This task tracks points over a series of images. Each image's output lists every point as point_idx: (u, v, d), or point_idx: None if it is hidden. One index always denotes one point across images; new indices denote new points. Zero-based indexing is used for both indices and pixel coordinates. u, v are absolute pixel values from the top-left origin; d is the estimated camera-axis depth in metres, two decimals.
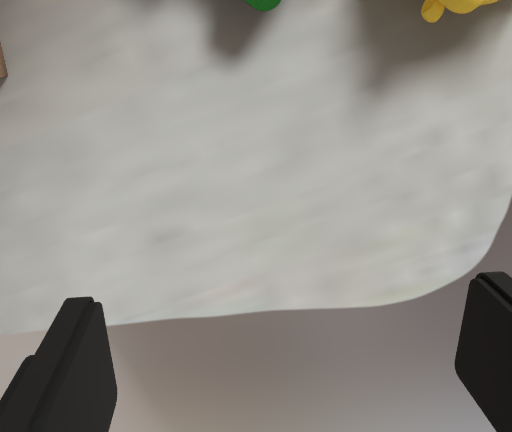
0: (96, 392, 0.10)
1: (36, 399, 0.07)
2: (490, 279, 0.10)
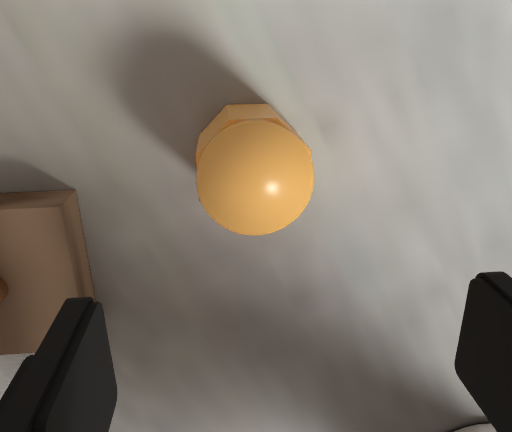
0: (96, 392, 0.10)
1: (36, 399, 0.07)
2: (490, 279, 0.10)
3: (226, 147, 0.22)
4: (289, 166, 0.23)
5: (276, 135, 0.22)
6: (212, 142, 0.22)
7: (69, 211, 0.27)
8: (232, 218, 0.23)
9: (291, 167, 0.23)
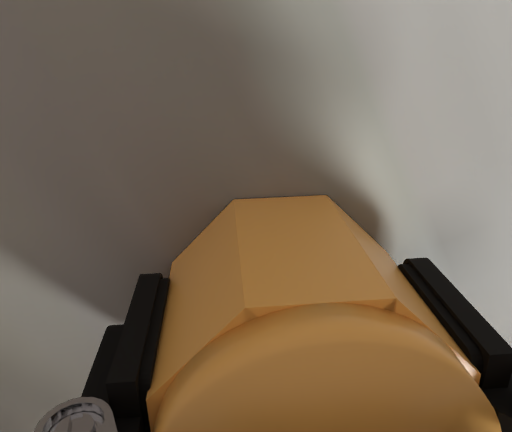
0: None
1: (137, 356, 0.08)
2: (413, 264, 0.11)
3: (237, 414, 0.07)
4: None
5: (404, 374, 0.07)
6: (192, 403, 0.07)
7: None
8: None
9: None
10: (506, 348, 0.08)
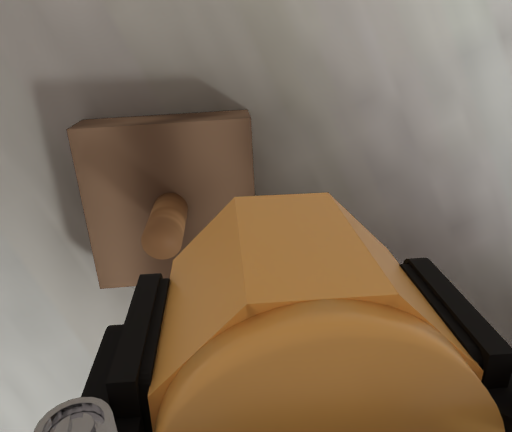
0: None
1: (137, 356, 0.08)
2: (413, 264, 0.11)
3: (239, 410, 0.07)
4: None
5: (406, 370, 0.07)
6: (193, 399, 0.06)
7: None
8: None
9: None
10: (506, 348, 0.08)
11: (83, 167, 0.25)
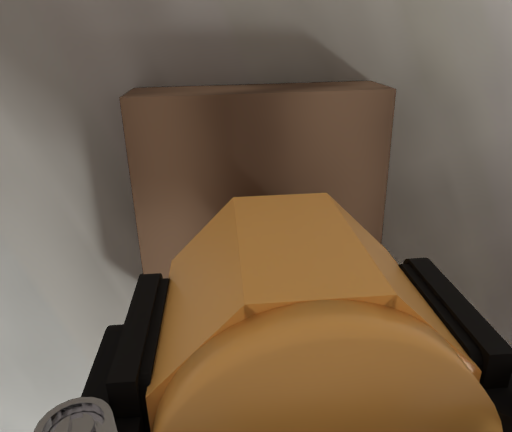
0: None
1: (137, 356, 0.08)
2: (413, 264, 0.11)
3: (237, 410, 0.07)
4: None
5: (404, 371, 0.07)
6: (191, 400, 0.06)
7: None
8: None
9: None
10: (506, 348, 0.08)
11: (140, 156, 0.17)
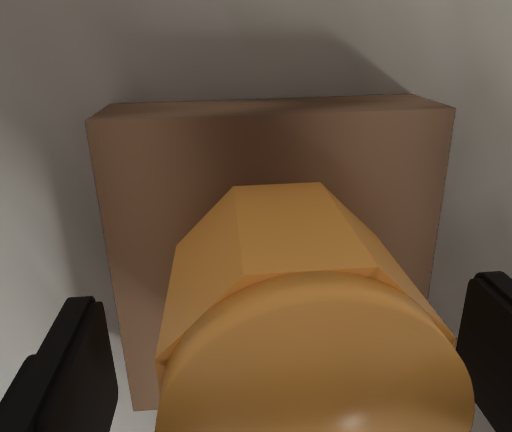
0: (97, 392, 0.10)
1: (38, 398, 0.07)
2: (489, 279, 0.10)
3: (237, 366, 0.08)
4: (411, 401, 0.08)
5: (383, 331, 0.08)
6: (196, 356, 0.07)
7: None
8: None
9: (416, 402, 0.08)
10: None
11: (115, 198, 0.12)
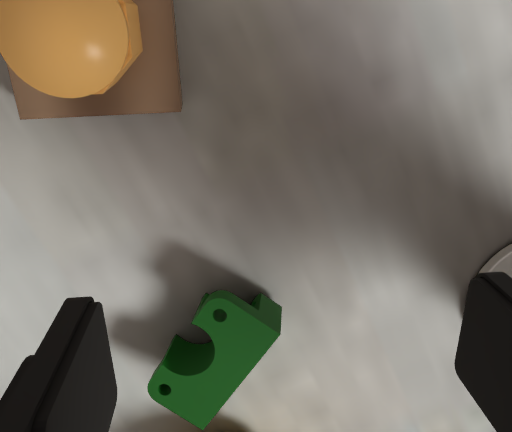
0: (96, 392, 0.10)
1: (36, 399, 0.07)
2: (490, 279, 0.10)
3: None
4: (95, 15, 0.21)
5: None
6: None
7: None
8: (42, 77, 0.22)
9: (98, 16, 0.21)
10: None
11: None
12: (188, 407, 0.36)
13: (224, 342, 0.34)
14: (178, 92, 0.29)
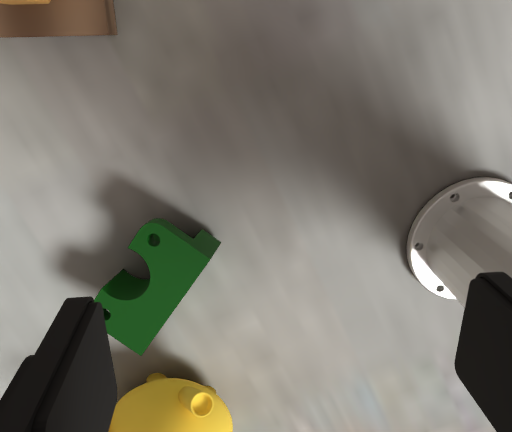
0: (96, 392, 0.10)
1: (36, 399, 0.07)
2: (490, 279, 0.10)
3: None
4: None
5: None
6: None
7: None
8: None
9: None
10: None
11: None
12: (127, 332, 0.38)
13: (158, 267, 0.36)
14: (105, 16, 0.31)
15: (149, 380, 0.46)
